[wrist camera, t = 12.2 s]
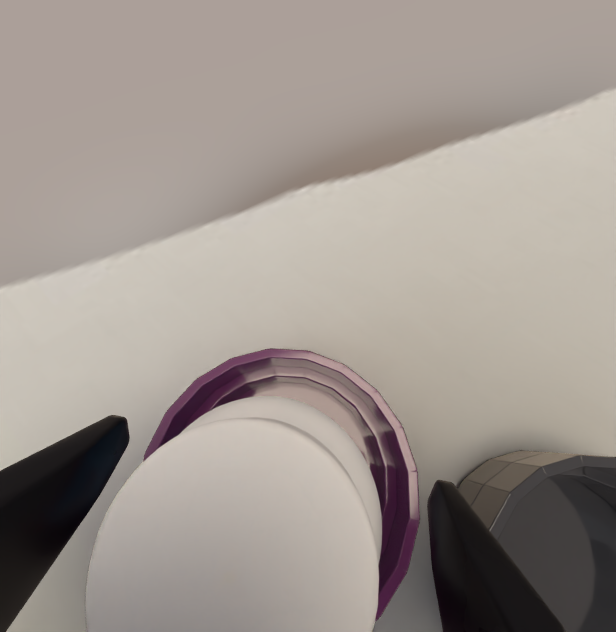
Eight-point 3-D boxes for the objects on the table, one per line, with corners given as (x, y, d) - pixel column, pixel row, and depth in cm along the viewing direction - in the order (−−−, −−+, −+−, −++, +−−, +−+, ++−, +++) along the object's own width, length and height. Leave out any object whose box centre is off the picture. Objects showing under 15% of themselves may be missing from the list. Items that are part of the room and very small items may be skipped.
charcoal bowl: (494, 764, 13) (577, 913, 9) (403, 482, 16) (434, 498, 12) (722, 678, 14) (892, 780, 10) (592, 427, 17) (678, 424, 13)
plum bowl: (193, 640, 14) (150, 715, 10) (165, 395, 17) (125, 384, 14) (426, 566, 15) (465, 611, 11) (356, 346, 18) (368, 323, 14)
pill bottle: (192, 489, 16) (-54, 602, 5) (277, 386, 17) (225, 311, 7) (290, 588, 14) (236, 1023, 4) (373, 468, 16) (499, 537, 5)
